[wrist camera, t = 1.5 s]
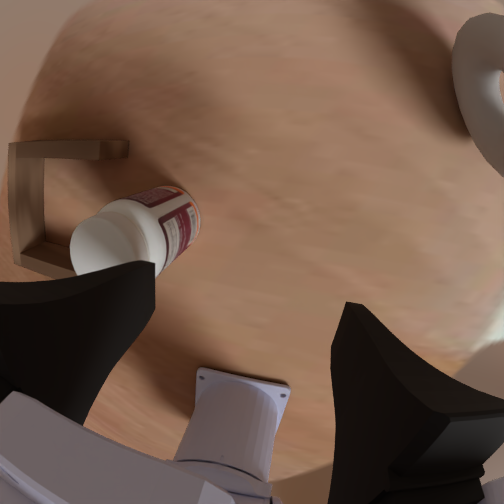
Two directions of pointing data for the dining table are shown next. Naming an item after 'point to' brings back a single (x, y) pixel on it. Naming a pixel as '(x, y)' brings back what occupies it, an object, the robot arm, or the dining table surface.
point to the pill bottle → (137, 231)
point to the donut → (481, 83)
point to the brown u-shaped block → (32, 199)
